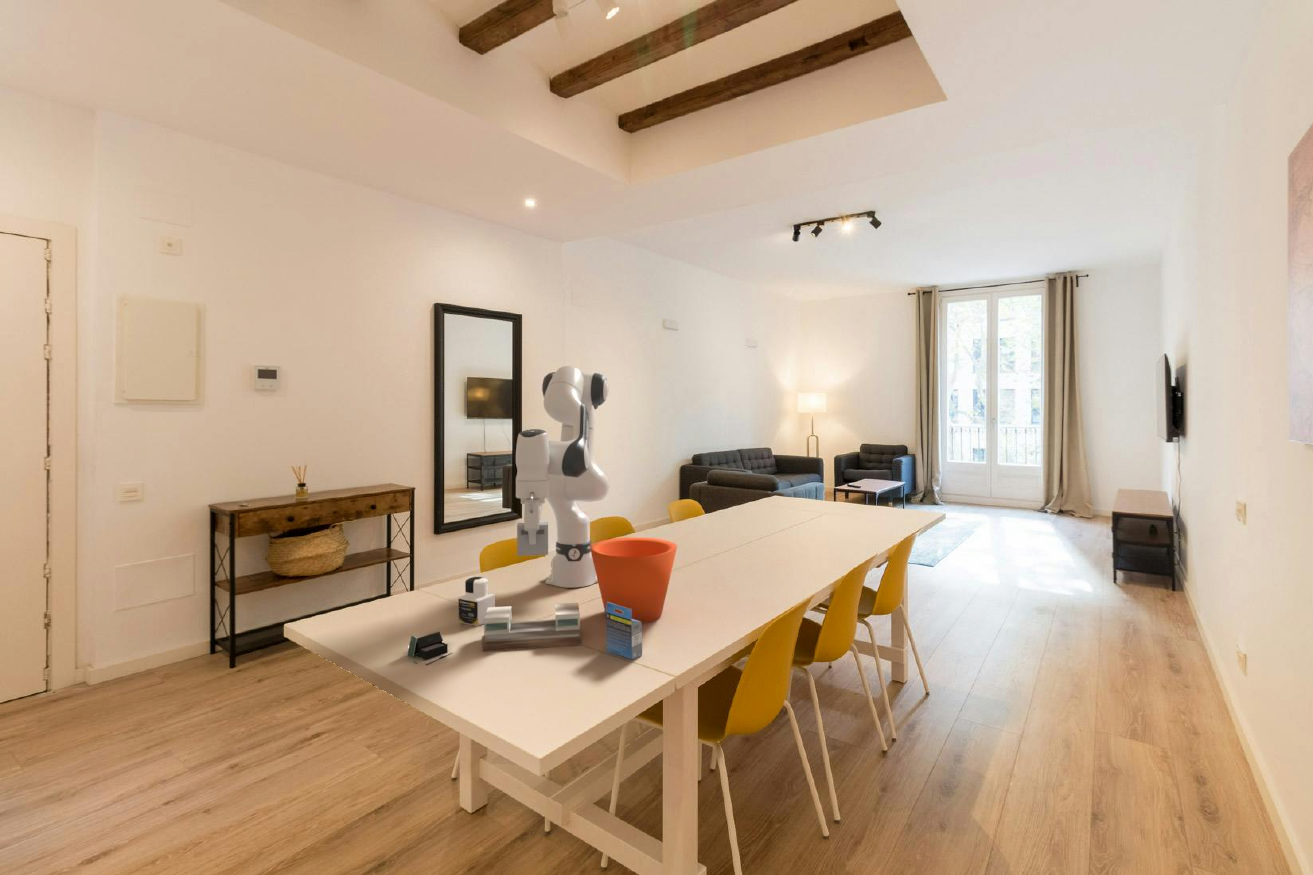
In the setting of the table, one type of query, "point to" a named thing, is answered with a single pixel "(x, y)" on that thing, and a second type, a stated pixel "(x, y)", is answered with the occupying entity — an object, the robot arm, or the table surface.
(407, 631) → the table surface
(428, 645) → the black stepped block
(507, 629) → the rail board
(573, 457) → the robot arm
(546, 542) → the block
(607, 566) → the flowerpot
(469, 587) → the medicine bottle
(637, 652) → the label tape box
